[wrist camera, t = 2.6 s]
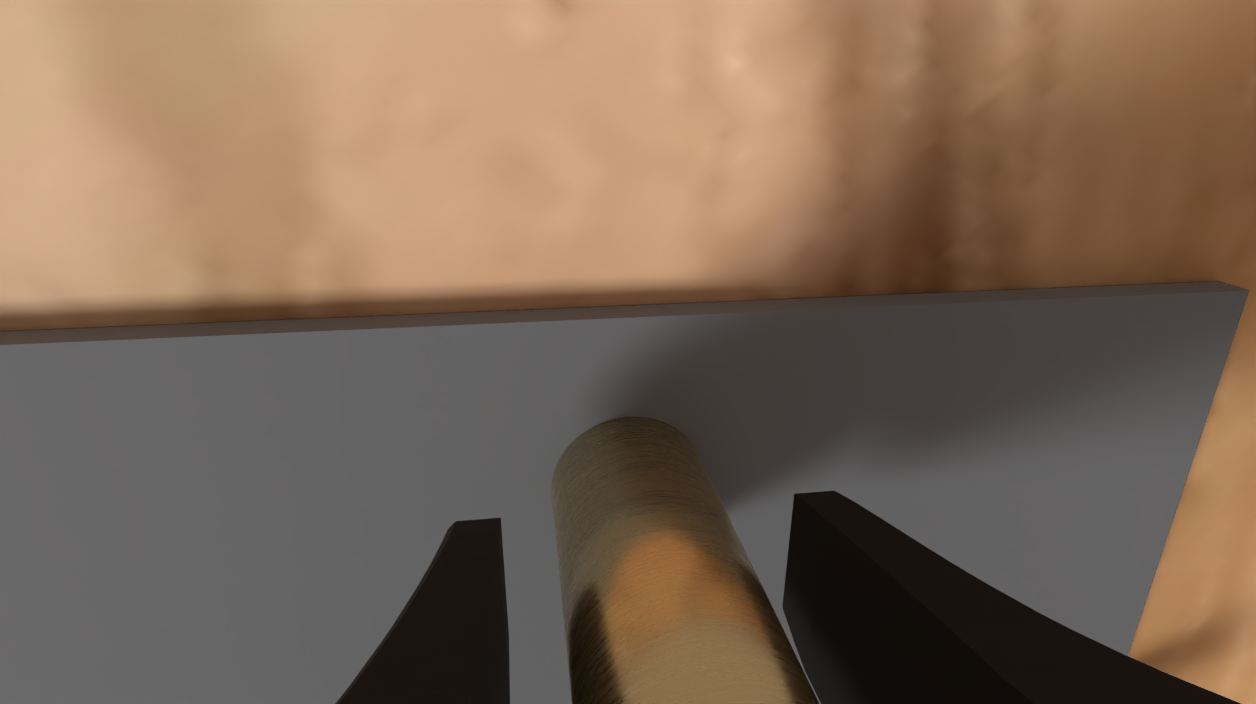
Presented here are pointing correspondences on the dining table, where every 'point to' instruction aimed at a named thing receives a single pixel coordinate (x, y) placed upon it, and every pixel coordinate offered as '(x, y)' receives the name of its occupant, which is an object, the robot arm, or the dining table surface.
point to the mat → (530, 449)
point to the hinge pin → (660, 579)
